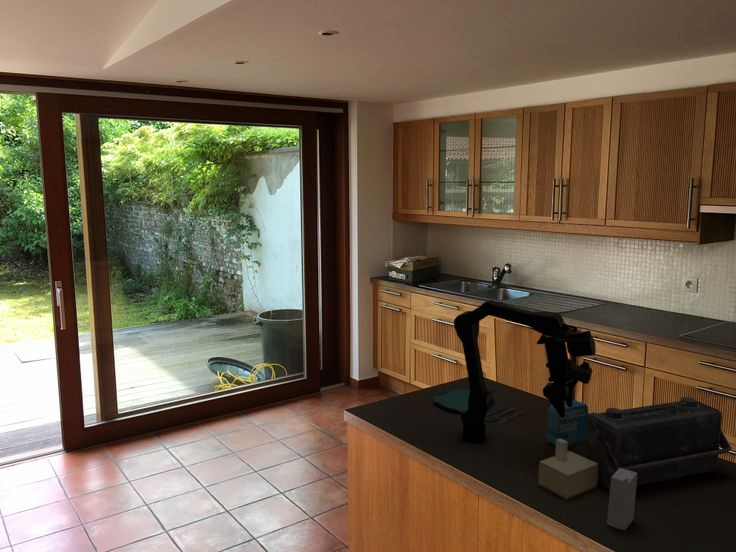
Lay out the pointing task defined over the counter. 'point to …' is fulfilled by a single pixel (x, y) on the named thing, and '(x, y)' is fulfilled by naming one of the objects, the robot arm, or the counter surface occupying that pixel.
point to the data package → (568, 424)
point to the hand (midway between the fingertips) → (566, 411)
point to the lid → (567, 461)
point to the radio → (656, 441)
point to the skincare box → (622, 499)
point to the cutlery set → (466, 404)
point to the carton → (567, 482)
